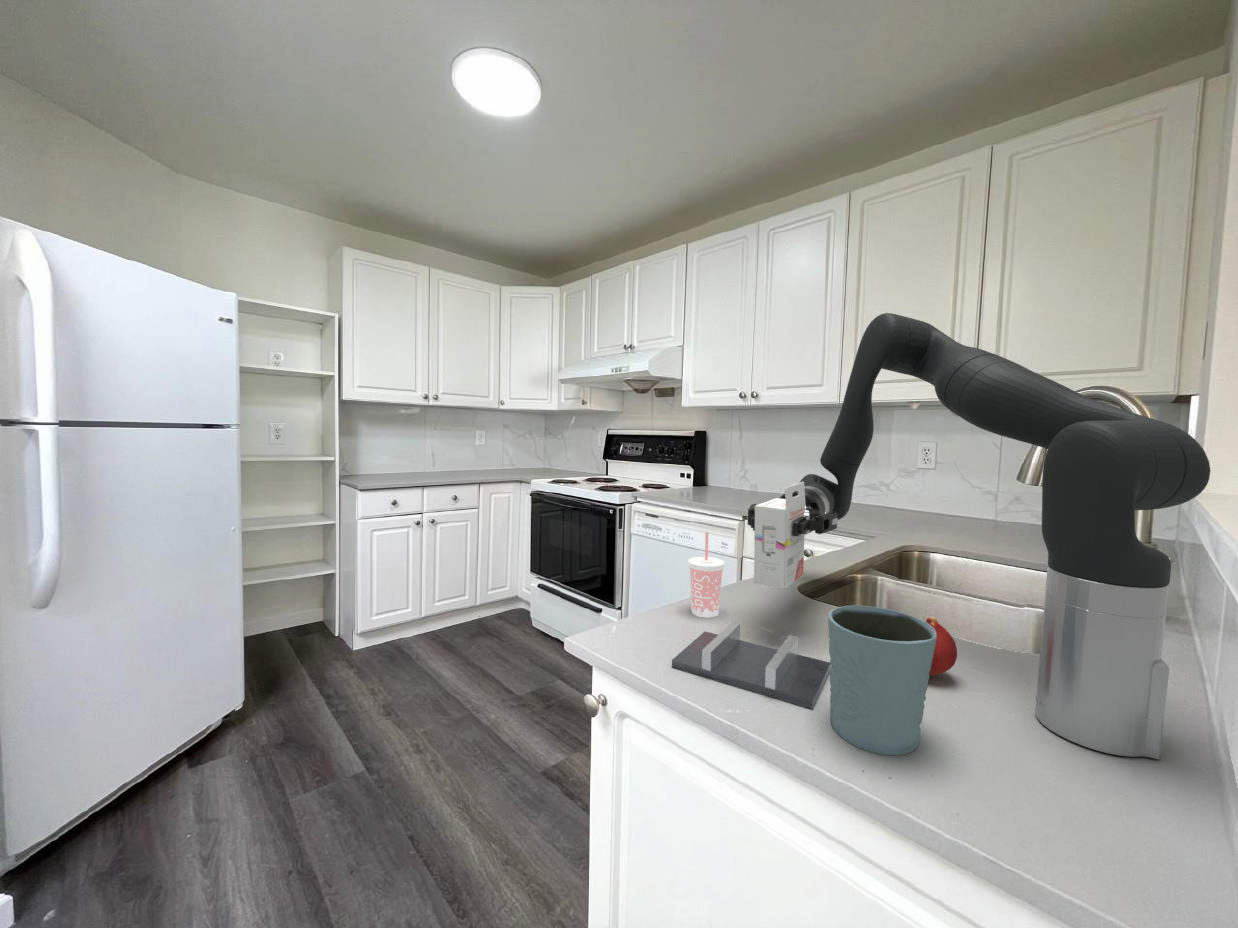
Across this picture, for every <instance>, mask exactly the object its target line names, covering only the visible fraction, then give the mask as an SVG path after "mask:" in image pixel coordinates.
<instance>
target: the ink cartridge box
mask: <svg viewBox="0 0 1238 928" xmlns="http://www.w3.org/2000/svg"><path fill="white" fill-rule="evenodd" d="M799 482H800V481H799ZM799 482H797V483H794V484H791V485H788V486H785V488H784V494H785V499H779V498H780V497H779V498H777V497H776V498H773V499H770V500H768V501H765V502H762V503H759V504H756V505H755V531H754V550H753V551H754V553H753V554H754V557H753V559H754V560H753V583H754V584H758V585H764V586H768V587H774V588H778V589H783V590H785V589H787V588H788V587H789V586H791V585H792V584H793V583H794V582H796V581H797V580H799V578H800V577H802V576H803V575H804V561H805V560H804V556H805V535H806V534H801V535H800V536H793V522H794V520H796V519H797V518H799V517H802V515H804V513H805V506H806V502H805V487H804V482H800V483H799ZM795 491H798V495H797V496H795V497H792V493H793V492H795Z"/></svg>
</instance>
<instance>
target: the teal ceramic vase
mask: <svg viewBox="0 0 1238 928" xmlns="http://www.w3.org/2000/svg"><path fill="white" fill-rule="evenodd" d="M827 624H828V627H827V628H828V638H829V642H828V650H829V652H828V653H829V659H830V660H829V662H830V663H831V668H830V673H829V684H830V688H829V691H830V695H829V698H830V699H829V700H830V704H829V705H830V706H829V716H830V717H829V718H830V719H829V720H830V724H831V727H832V728H833V730H834V732H836V734H837V735H838V736H840V737H841V738H842V739H843V740H844V741H845V742H848V743H849V744H851V745H852V746H855V747H856V748H859V749H861V750H865V751H867V752H869V753H874V754H878V755H883V756H904V755H907V754H910V753H912V752H914V751H915V750H916V748H918V745H919V743H920V737H921V724H922V722H923V717H924V710H925V703H924V702H925V701H926V700H927V699H926V698H927V697H926V694H927V691H928V687H929V686H928V683H929V680H930V677H929V672H930V669H931V663H932V658H933V653H934V648H935V643H936V638H937V635H936V631H935V629H934V628H933V627H932V626H930V625H929V624H928V623H926V621H924V620H922V619H920V618H917V617H916V616H913V615H911V614H907V613H904V612H901V611H897V610H894V609H889V608H884V607H879V606H878V607H877V606H869V605H844V606H838V607H835V608H833V609H831V610H830V611H829V612H828V614H827Z"/></svg>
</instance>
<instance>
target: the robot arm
mask: <svg viewBox="0 0 1238 928" xmlns="http://www.w3.org/2000/svg"><path fill="white" fill-rule="evenodd" d="M858 345H859V346H858V349H857V351H856V355H855V358H854V361H853V365H852V368H851V373H850V375H849V378H848V382H847V386H846V390H845V393H844V394H845V395H844V397H843V401H842V406H841V409H840V410H839V415H838V418H837V420H836V422H835V424H834V427H833V429H832V432H831V434H830V436H829V438H828V441H826V442H827V443H826V444H825V447H824V449H823V452H822V453H821V456H820V459H819V460H820V461H819V462H820V465H821V466H822V468H824V469H825V470H826V471H828V472H829V473H830V474H831V475H832V476H834V477H835V479H836V481H837V483H836V482H834V481H832V480H829V479H827V478H826V477H823V476H820V475H818V474H814V473H810V474H809V473H808V474H806V475H804V476H803V477H802V478H801V480H800V481H799V482H798V483H800V482H804V487H805V502H806V506H805V513H804V515H802V517H799V518H797V519H796V520H794V522H793V536H800V535H801V534H805V535H809V534H810V533H812V532H813V531H814V533H815V534H817V535H823V534H825V533H828V532H831V531H834V530H836V529H838V521H840V520H841V519H843V518H844V517H845V516H846V515H847V514H848V512H849V511H850V508H851V505H852V504H851V503H852V501H853V500H852V499H853V491H854V490H853V489H854V484H855V479H856V476H857V474H858V471H859V468H860V465H861V464H862V462H863V461H864V457H865V455H866V454H867V452H868V449H869V447H871V446H870V445H871V443H872V441H873V436H874V428H875V427H874V414H873V404H872V401H873V389H874V385H875V382H876V380H877V378H878V376H879V375H880V372H881V370H886V371H891V372H895V373H898V374H902V375H907V376H912V377H914V378H917V379H920V380H922V381H924V382H926V383H928V384H931V385H932V386H934V391H935V394H936V397H937V398H938V400H939V402H940V403H941V404H942V405H943V406H944V407H945V408H946V409H948V410H949V411H951V412H952V413H953V414H955V415H956V416H957V417H960V418H961V419H963V420H964V421H965V422H968V423H969V424H971V425H973V426H974V427H977V428H978V429H981V430H984V431H987V432H988V433H992V434H995V435H998V436H1000V437H1004V438H1008V439H1012V440H1015V441H1018V442H1023V443H1026V444H1030V445H1033V446H1036V447H1040V448H1042V449H1046V453H1045V456H1044V460H1043V467H1042V479H1041V481H1042V483H1041V485H1042V487H1041V491H1042V492H1041V495H1042V496H1041V533H1042V539H1043V542H1044V544H1045V547H1046V550H1047V555H1048V556H1047V570H1046V578H1045V579H1046V580H1045V594H1044V605H1043V614H1042V615H1043V616H1042V627H1041V638H1040V640H1041V641H1040V649H1039V651H1040V652H1039V663H1038V664H1039V665H1038V675H1037V687H1036V695H1035V716H1036V718H1037V720H1038V721H1039V723H1041V724H1042V725H1043V726H1045V727H1046V728H1047V729H1048V730H1049V731H1051V732H1053V733H1055V734H1056V735H1058V736H1060V737H1062V738H1064V739H1066V740H1067V741H1070V742H1072V743H1075V744H1077V745H1080V746H1082V747H1085V748H1088V749H1091V750H1094V751H1097V752H1101V753H1105V754H1111V755H1116V756H1120V757H1121V756H1122V757H1130V758H1131V757H1146V758H1150V759H1151V758H1152V759H1155V760H1160V757H1161V751H1162V750H1161V749H1162V740H1163V731H1164V722H1165V721H1164V720H1165V712H1166V705H1167V704H1166V702H1167V696H1168V695H1167V693H1168V684H1169V676H1170V675H1169V674H1170V667H1169V665H1168V663H1166V662H1165V661H1164V659H1163V657H1162V656H1163V647H1164V646H1163V645H1164V638H1165V630H1166V629H1165V626H1166V621H1167V620H1166V619H1167V618H1166V617H1167V611H1168V610H1167V609H1168V599H1169V592H1170V590H1169V589H1170V582H1171V573H1172V563H1171V560H1170V558H1169V557H1168V555H1166V553H1164V552H1162V551H1161V550H1158V549H1156V548H1154V547H1151V546H1148V545H1146V544H1144V543H1142V541H1141V540H1140V539H1139V538H1138V537H1137V533H1136V511H1149V510H1151V511H1152V510H1160V509H1167V508H1171V507H1175V506H1179V505H1180V506H1181V505H1182V504H1185V503H1187V502H1190V501H1192V500H1193V499H1194V498H1196V497H1198V496H1199V495H1200V494H1202V492H1203V491H1205V488H1206V487H1207V485H1208V483H1209V481H1210V477H1211V465H1210V464H1211V463H1210V461H1209V457H1208V456H1207V454H1206V451H1205V450H1204V448H1203V447H1202V446H1201V444H1200V443H1199V442H1198V441H1197V440H1196V439H1195V438H1194V437H1193V436H1192V435H1190V434H1189V433H1188V432H1187V431H1185V430H1183V429H1181V428H1180V427H1177V426H1175V425H1173V424H1170V423H1167V422H1165V421H1161V420H1157V419H1154V418H1151V417H1148V416H1144V415H1141V414H1137V413H1135V412H1131V411H1129V410H1126V409H1122V408H1118V407H1116V406H1112V405H1109V404H1107V403H1104V402H1100V401H1098V400H1095V399H1093V398H1091V397H1088V396H1085V395H1084V394H1082V393H1079V392H1077V391H1075V390H1073V389H1071V388H1069V387H1067V386H1065V385H1063V384H1062V383H1061V384H1060V383H1058V382H1057V381H1055V380H1053V379H1050V378H1048V377H1046V376H1044V375H1042V374H1039V373H1037V372H1034V371H1033V370H1030V369H1029V368H1027V367H1025V366H1023V365H1021V364H1019V363H1017V362H1014V361H1013V360H1010V359H1008V358H1005V357H1003V356H1001V355H998V354H996V353H992V352H990V351H987V350H984V349H981V348H978V347H973V346H969V345H964V344H962V343H960V342H958V341H956V340H954V338H952V337H950V336H949V335H947V334H946V333H944V332H943V331H941V330H940V329H939V328H937V327H935V326H933V325H932V324H930V323H928V322H927V321H923V320H919V319H915V318H912V317H908V316H904V315H900V314H896V313H891V312H884V313H881V314H879V315H877V316H875V318H873V319H872V320H871V321H870V323H869V324H868V325H867V327H866V329H865V331H864V332H863V334H862V336H861V339H860V342H859V344H858ZM797 495H798V491H795V492H793V493H792V497H795V496H797ZM779 499H785V493H784V494H781V496H779ZM755 505H757V503H753V504H751V505H750V506H749V507H748V509H747V526H750V529H752V531H753V532H755Z"/></svg>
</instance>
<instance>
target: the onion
mask: <svg viewBox="0 0 1238 928" xmlns="http://www.w3.org/2000/svg"><path fill="white" fill-rule="evenodd" d="M925 620H926V621H925V622H926V623H928V624H929V625H930V626H932V627H933V628H934V629H935V631H936V635H937V638H936V643H935V648H934V653H933V658H932V663H931V669H930V672H929V678H932V677H935V676H938V675H941V674H944V673H946V672H948V671H950V670H951V669H952V667H954V665H955V664H956V661H957V658H958V648H957V643H956V641H955V639H954V638H953V636H952V635H951V634H950V633H949V632H948V630H947V629H946V628H945V627H944V626H942V625H941V624H940V623H939V622H938V620H937V618H936V617H934V616H929V617H927V618H926V619H925Z"/></svg>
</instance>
